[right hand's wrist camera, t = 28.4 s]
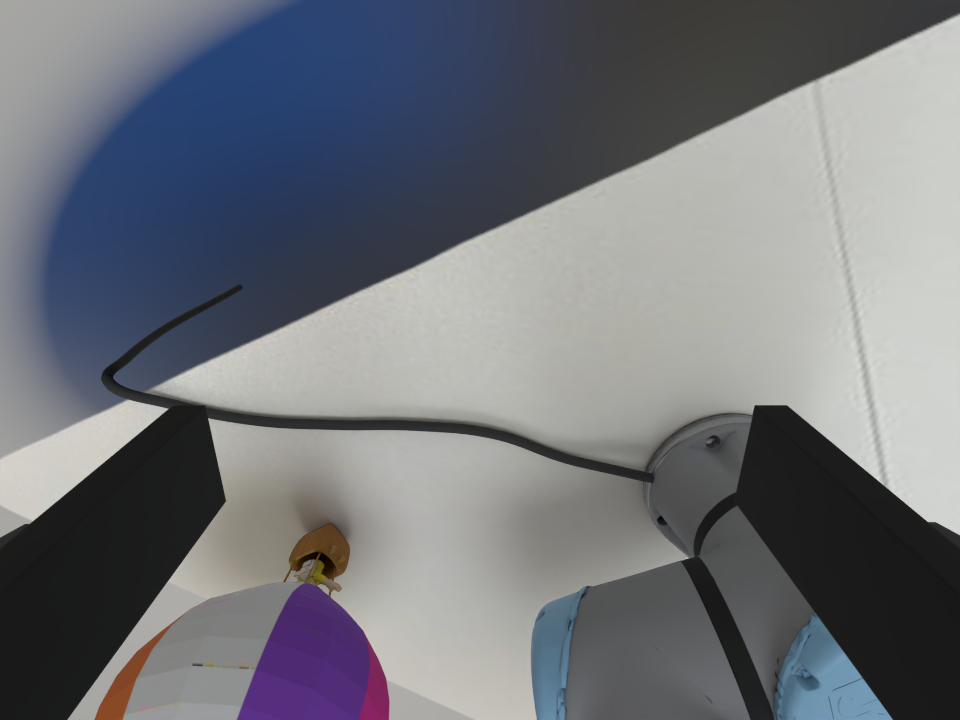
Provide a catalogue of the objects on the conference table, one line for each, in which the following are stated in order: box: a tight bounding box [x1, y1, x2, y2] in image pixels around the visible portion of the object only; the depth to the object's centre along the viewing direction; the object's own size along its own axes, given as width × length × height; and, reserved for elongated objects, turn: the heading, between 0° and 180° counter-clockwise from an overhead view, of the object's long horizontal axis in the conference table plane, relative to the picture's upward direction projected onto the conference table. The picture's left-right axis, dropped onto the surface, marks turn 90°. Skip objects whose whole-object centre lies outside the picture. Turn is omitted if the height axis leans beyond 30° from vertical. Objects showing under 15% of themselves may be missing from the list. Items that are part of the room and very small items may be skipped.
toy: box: [95, 524, 389, 720], centre depth 41 cm, size 20×20×30 cm
